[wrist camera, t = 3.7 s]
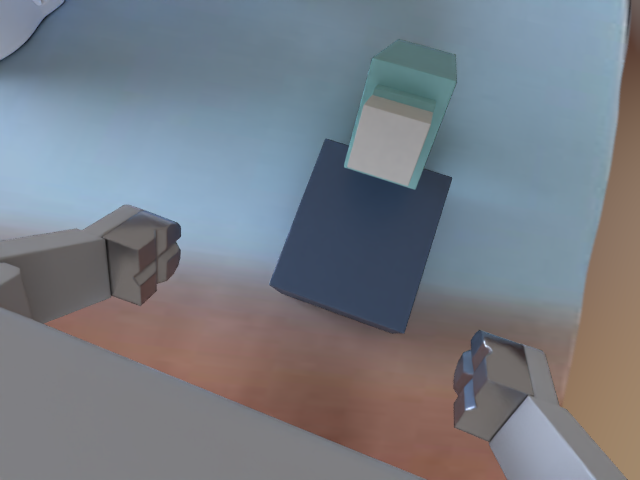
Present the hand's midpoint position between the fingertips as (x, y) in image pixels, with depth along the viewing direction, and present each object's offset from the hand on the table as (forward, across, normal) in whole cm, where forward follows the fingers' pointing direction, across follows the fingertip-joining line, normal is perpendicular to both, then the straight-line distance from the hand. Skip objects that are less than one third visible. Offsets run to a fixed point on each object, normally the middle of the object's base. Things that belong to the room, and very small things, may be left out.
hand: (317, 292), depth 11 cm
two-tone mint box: (+28, 0, +5) cm, 29 cm away
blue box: (+22, 0, +12) cm, 25 cm away
